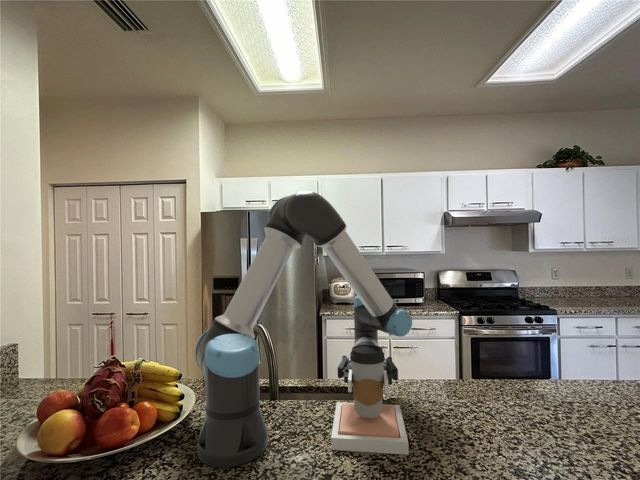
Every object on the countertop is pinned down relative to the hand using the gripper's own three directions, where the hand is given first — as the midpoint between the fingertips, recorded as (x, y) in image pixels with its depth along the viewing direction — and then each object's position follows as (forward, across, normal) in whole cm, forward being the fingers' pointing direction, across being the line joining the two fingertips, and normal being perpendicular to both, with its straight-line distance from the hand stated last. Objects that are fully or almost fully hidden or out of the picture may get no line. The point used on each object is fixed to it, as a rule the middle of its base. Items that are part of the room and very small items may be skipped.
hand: (368, 386), depth 75 cm
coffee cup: (-5, 0, -8) cm, 10 cm away
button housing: (-5, 0, -12) cm, 13 cm away
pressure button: (-5, 0, -10) cm, 11 cm away
